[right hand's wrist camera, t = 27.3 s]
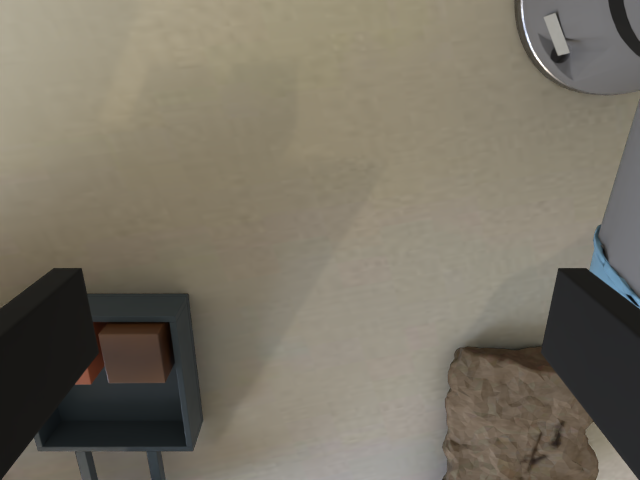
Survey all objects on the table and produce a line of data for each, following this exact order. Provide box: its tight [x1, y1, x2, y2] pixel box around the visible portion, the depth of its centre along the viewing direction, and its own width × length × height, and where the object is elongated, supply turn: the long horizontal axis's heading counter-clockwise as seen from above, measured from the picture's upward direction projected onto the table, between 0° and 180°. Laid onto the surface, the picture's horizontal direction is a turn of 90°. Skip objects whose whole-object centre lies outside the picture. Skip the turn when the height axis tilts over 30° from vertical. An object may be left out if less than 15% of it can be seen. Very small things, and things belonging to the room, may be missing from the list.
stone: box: [442, 346, 599, 480], centre depth 45 cm, size 21×15×6 cm
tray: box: [34, 294, 203, 480], centre depth 42 cm, size 26×15×10 cm, turn 0°
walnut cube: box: [98, 322, 175, 383], centre depth 41 cm, size 5×5×5 cm
